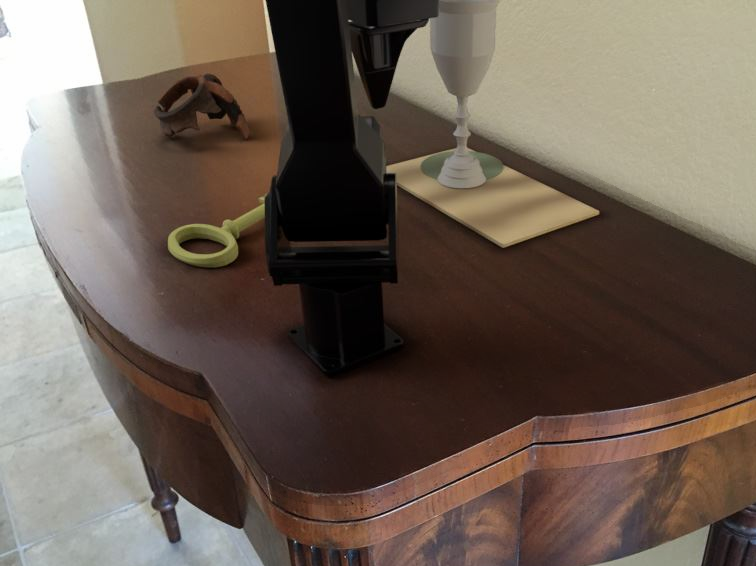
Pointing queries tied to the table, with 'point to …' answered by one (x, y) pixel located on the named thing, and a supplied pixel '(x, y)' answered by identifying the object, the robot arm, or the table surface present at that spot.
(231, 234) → the key
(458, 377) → the table surface
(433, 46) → the chalice
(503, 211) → the place mat
